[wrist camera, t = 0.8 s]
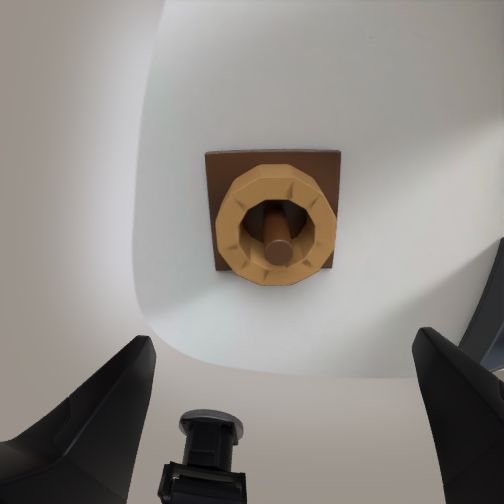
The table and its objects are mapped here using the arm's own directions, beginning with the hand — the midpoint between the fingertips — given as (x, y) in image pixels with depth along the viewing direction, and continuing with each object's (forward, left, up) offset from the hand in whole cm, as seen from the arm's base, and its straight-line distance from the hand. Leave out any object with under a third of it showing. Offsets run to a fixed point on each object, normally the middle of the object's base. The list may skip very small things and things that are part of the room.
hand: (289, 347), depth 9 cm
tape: (0, 0, -11) cm, 11 cm away
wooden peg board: (0, 0, -11) cm, 11 cm away
